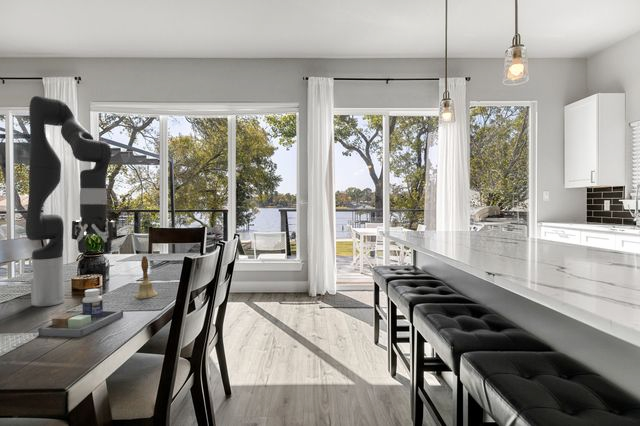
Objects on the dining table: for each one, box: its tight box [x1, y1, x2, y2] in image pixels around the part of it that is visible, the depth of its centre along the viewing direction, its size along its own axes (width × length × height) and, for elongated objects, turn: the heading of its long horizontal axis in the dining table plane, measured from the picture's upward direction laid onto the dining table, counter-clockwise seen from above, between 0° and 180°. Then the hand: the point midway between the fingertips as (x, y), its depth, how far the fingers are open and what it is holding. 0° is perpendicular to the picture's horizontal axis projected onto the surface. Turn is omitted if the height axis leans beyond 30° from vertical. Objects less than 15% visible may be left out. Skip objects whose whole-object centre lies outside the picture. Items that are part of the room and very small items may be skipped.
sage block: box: [68, 315, 91, 329], centre depth 108 cm, size 4×4×4 cm
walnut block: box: [51, 313, 76, 328], centre depth 108 cm, size 4×4×4 cm
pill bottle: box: [81, 288, 104, 323], centre depth 116 cm, size 5×5×10 cm
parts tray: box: [37, 309, 124, 338], centre depth 112 cm, size 13×18×2 cm
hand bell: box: [134, 255, 158, 299], centre depth 149 cm, size 8×8×16 cm
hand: (94, 253), depth 120 cm, fingers open, 8 cm apart
